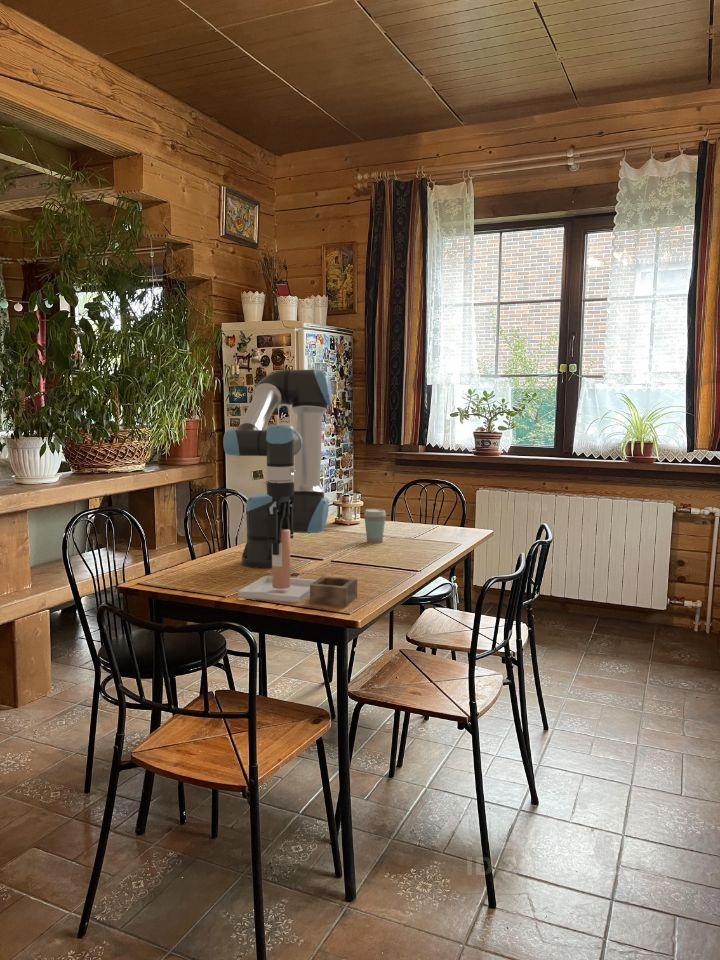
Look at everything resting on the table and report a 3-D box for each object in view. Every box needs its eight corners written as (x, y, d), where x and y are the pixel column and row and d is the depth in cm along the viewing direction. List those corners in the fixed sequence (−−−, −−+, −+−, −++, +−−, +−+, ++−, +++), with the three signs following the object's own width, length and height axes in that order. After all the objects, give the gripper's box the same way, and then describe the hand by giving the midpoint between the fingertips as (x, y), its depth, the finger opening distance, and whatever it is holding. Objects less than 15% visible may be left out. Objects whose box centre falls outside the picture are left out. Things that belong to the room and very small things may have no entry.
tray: (237, 600, 201) (237, 591, 201) (265, 583, 219) (265, 575, 218) (299, 606, 196) (299, 596, 196) (322, 588, 213) (322, 580, 213)
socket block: (309, 607, 195) (309, 585, 195) (322, 597, 205) (322, 575, 204) (345, 610, 192) (345, 588, 192) (357, 600, 202) (357, 578, 201)
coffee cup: (386, 543, 276) (386, 512, 274) (363, 543, 276) (363, 512, 274) (385, 539, 284) (386, 508, 283) (363, 539, 284) (363, 508, 283)
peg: (269, 587, 205) (269, 531, 203) (276, 583, 210) (276, 528, 208) (286, 589, 204) (286, 532, 202) (293, 584, 209) (293, 529, 207)
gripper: (280, 485, 194) (280, 572, 197) (305, 477, 211) (305, 557, 214) (254, 484, 196) (255, 570, 199) (280, 476, 213) (281, 555, 216)
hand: (281, 563), depth 206 cm, fingers closed on peg, 5 cm apart
